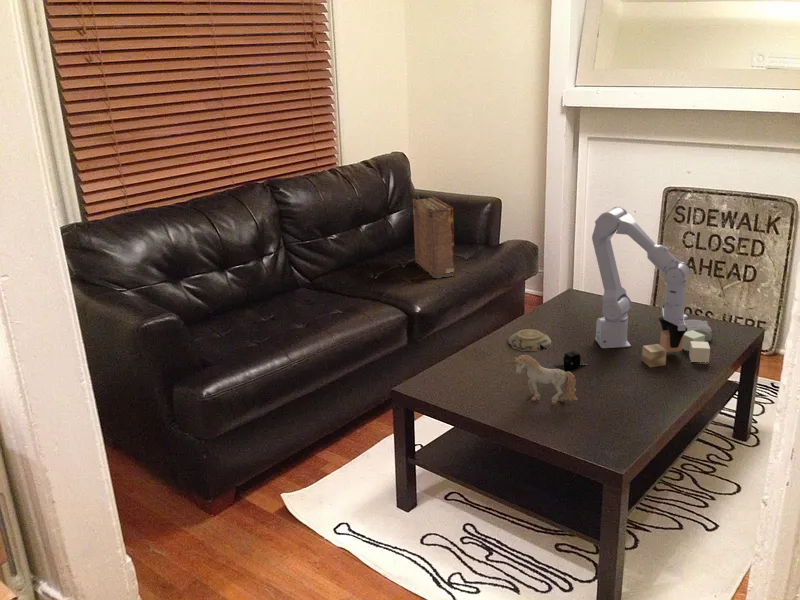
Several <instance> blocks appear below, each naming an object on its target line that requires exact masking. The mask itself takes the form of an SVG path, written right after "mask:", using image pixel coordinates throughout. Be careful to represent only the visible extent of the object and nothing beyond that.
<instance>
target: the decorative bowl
mask: <svg viewBox="0 0 800 600" xmlns="http://www.w3.org/2000/svg"><path fill="white" fill-rule="evenodd" d="M551 342H552V340H551V338H550V337H549V336H548V335H547V334H546V333H544V332H541V331H539V330H538V329H534V328H533V329H532V328H526V329H521V330H519V331H517V332H515V333H513V334H512V335H510V337H509V338H508V339H507V344H508V343H509V344H510V345H511V346H513V347H516V348H518V349H521V350H530V351H535V350H540V349H541V347H543V348H544V349H545V348H546V347H549V345H551ZM509 344H508V345H509ZM510 345H509V346H510ZM551 346H552V345H551ZM549 348H550V347H549ZM541 350H542V349H541ZM535 352H536V351H535Z"/></svg>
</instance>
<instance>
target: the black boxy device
mask: <svg viewBox="0 0 800 600" xmlns="http://www.w3.org/2000/svg"><path fill="white" fill-rule="evenodd" d="M581 357H582V356H581V354H580V352H577V351H575V350H571V351H568V352H566V353H564V356H563V363H559V364H558V365H554V366H555V367H554V368H555V369H560V370H563V371H565V372H568V371H569V372H573V371H576V370H579V369H582V368H584V367H589V366H590V364H588V363H586V362H585V361H583V360H582V359H581Z"/></svg>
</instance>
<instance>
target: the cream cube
mask: <svg viewBox="0 0 800 600" xmlns="http://www.w3.org/2000/svg"><path fill="white" fill-rule="evenodd" d="M710 352H711V348H710V344H709V341H705V342H698V341H690V350H689V352H688V353H689V354H688V357H689V361H690V360H691V361H690V363H691V362H700V363H699V364H702V363H701V362H705V363H704V364H708V363H709V364H710V354H711V353H710ZM706 362H708V363H706Z"/></svg>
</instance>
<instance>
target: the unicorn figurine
mask: <svg viewBox="0 0 800 600" xmlns="http://www.w3.org/2000/svg"><path fill="white" fill-rule="evenodd" d="M514 359H515V360H505V363H508V364H515V366H516V371H515V373H516V374H517V375H521V374H522V372H523V371H522V370H523V369H524V368H526V369H527V370H526V371H527V372H526V373H527V377H528V380H527V386H528V389H529V391H530V392H531V394H532V395H533V396H532V398H531V399H530V400H531V401H532V400H533V401H532V402H536V400H537V401H540V397H541V393H540V392H539V391H538V389H539V388H538V384H537V383H540V384H544V385H549V384H552V385H553V386H554V388H555V390H556V391H557V393H555V395H553V396H552V397H551V405H552V406H555V404H557V401H558V402H561V403H562V402H563V401H567V400H569V401H570V402H572V400H573V401H578V397H576V395H575V393H576V391H577V389H576V387H575V386H576V382H577V380H576V378H575V375H574V374H573V373H572V371H570V372H569V371H568V372H565V371H563V370H560V369H558V368H546V367H543V366H541V364H540V363H539V361H537V360H536V359H535V358H534V357H532V356H530V355H528V354H522V355H519V356H518V357H516V356H514ZM565 383H566V384H565ZM534 395H535V396H534ZM561 395H562V396H561ZM559 396H560V397H559Z"/></svg>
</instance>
